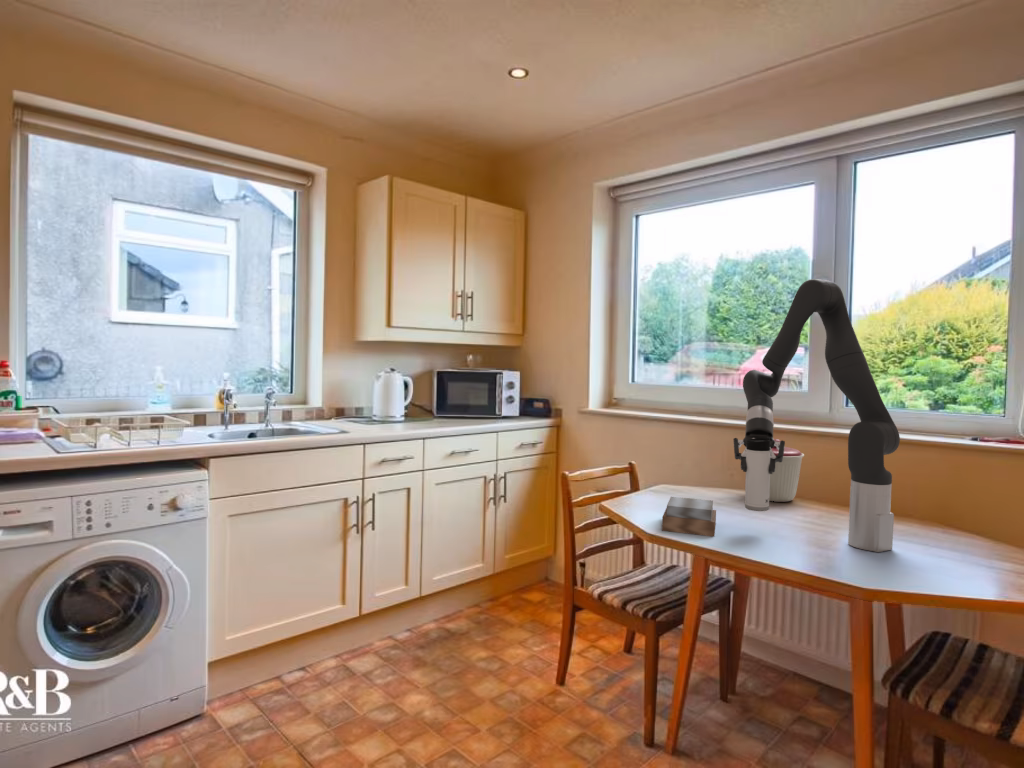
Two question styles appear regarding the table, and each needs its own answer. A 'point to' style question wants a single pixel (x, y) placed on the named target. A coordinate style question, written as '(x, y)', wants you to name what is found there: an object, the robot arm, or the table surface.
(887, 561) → the table surface
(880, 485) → the robot arm
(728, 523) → the table surface
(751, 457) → the travel mug
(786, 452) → the canister
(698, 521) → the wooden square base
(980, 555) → the table surface
